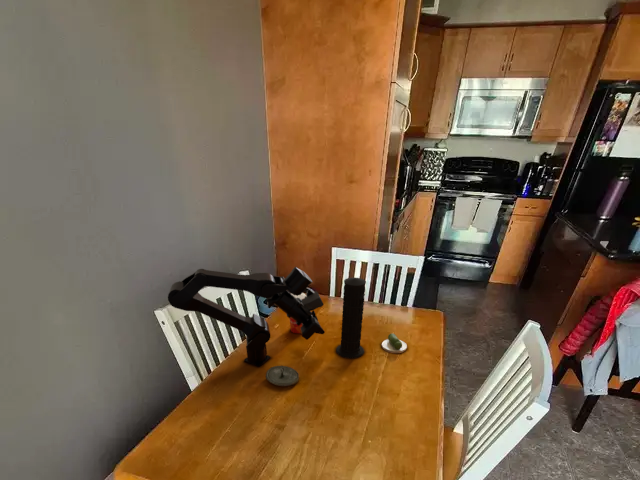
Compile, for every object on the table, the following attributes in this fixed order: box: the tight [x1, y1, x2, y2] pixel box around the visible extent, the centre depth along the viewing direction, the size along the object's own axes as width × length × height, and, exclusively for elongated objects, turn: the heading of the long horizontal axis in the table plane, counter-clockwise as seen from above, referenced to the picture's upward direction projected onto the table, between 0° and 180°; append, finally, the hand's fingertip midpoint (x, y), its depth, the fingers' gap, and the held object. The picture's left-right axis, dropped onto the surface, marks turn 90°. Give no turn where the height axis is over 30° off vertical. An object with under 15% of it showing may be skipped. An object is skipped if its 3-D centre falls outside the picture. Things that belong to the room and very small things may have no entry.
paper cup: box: [289, 292, 307, 334], centre depth 137 cm, size 8×8×14 cm
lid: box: [265, 365, 300, 387], centre depth 113 cm, size 11×10×5 cm
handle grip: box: [335, 277, 367, 359], centre depth 122 cm, size 10×26×10 cm
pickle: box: [381, 332, 408, 354], centre depth 131 cm, size 9×9×4 cm
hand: (323, 332), depth 123 cm, fingers closed
